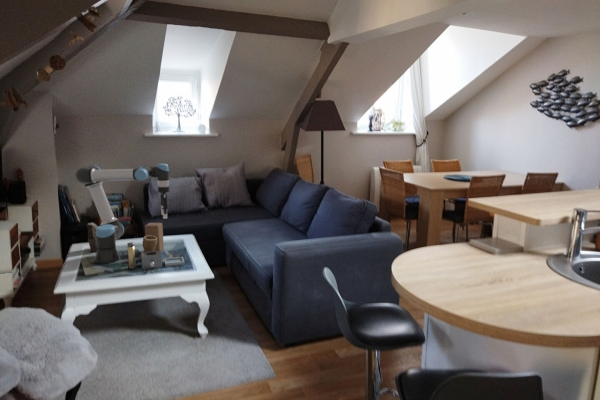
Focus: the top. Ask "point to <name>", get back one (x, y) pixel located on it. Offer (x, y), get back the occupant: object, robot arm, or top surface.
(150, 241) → the stone cup
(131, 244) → the cylindrical container
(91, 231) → the owl
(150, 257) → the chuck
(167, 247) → the top surface
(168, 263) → the tray
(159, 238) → the wooden block
